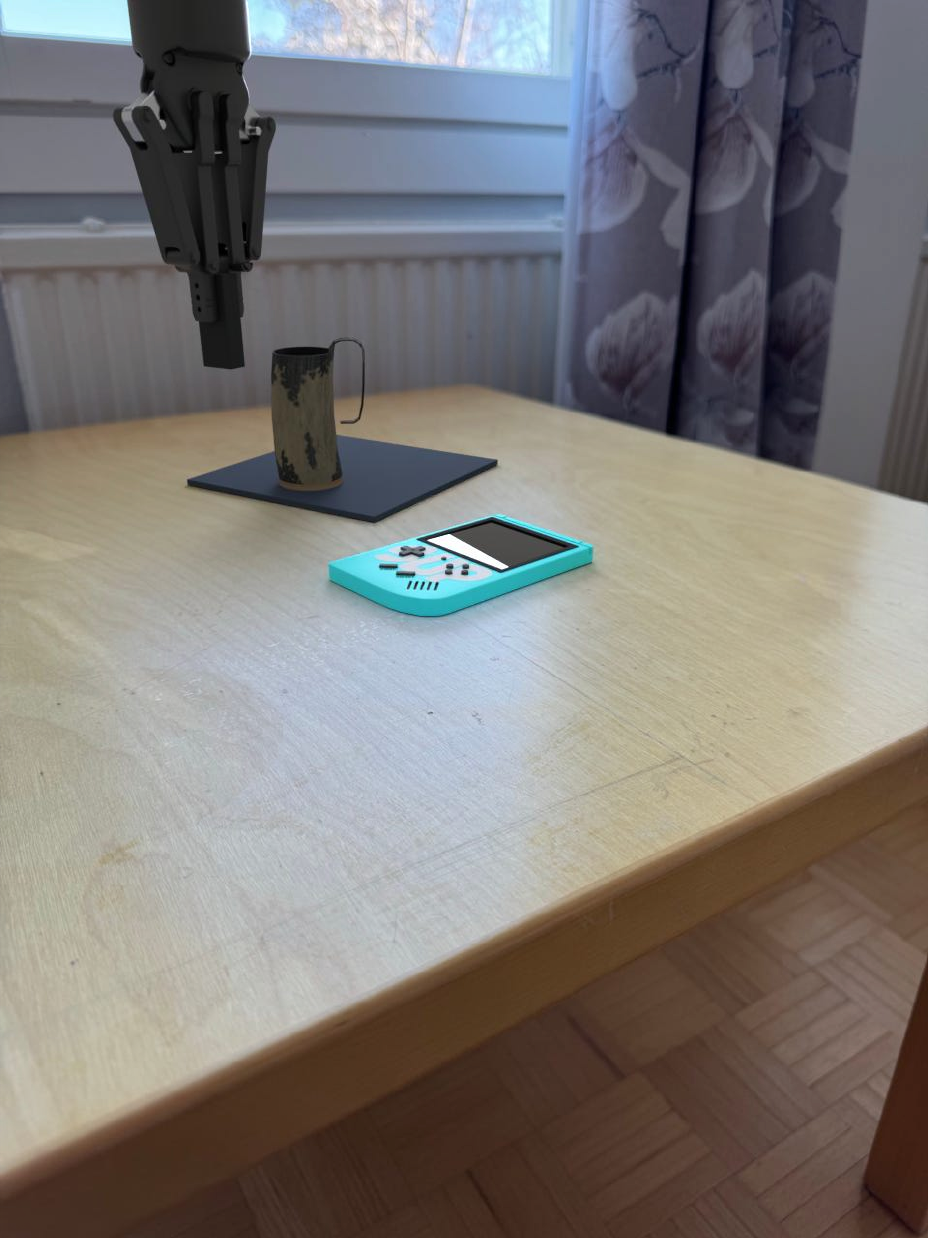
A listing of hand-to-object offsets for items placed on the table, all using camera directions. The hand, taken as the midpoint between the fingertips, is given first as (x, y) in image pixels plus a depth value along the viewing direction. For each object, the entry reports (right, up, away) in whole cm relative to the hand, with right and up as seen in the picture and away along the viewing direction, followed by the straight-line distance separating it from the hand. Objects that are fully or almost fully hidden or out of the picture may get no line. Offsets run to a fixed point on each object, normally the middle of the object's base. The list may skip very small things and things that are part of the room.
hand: (224, 366), depth 71 cm
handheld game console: (+18, -15, -5) cm, 24 cm away
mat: (+7, -6, +16) cm, 19 cm away
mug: (+6, -7, +12) cm, 15 cm away
